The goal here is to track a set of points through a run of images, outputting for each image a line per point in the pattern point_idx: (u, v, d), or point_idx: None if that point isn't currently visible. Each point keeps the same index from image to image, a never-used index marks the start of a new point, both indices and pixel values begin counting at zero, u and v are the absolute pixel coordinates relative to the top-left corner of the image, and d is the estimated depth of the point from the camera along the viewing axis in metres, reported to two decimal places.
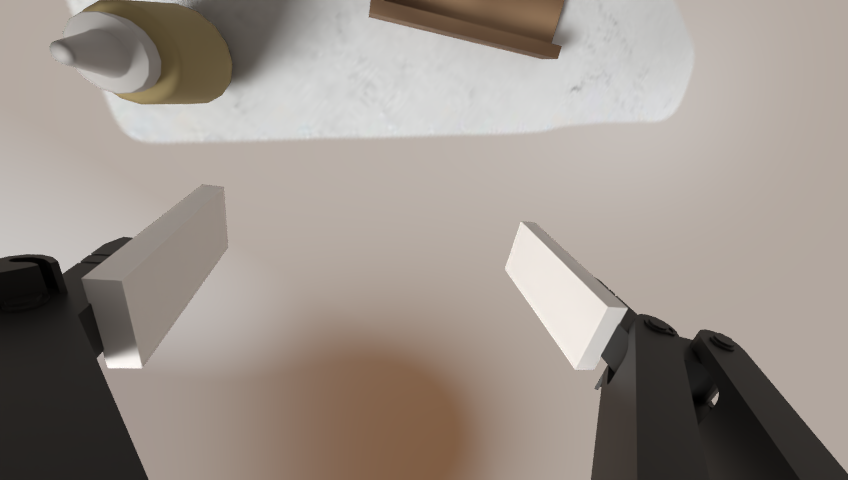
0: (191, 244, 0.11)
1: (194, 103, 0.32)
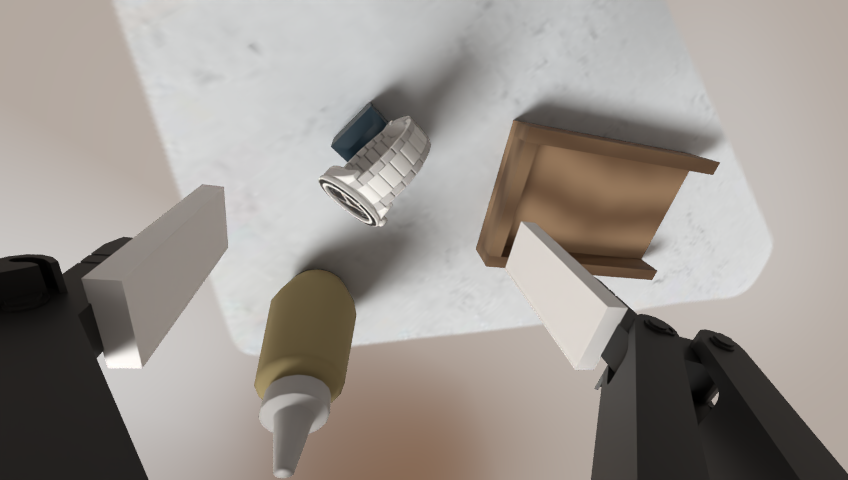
0: (191, 244, 0.11)
1: None
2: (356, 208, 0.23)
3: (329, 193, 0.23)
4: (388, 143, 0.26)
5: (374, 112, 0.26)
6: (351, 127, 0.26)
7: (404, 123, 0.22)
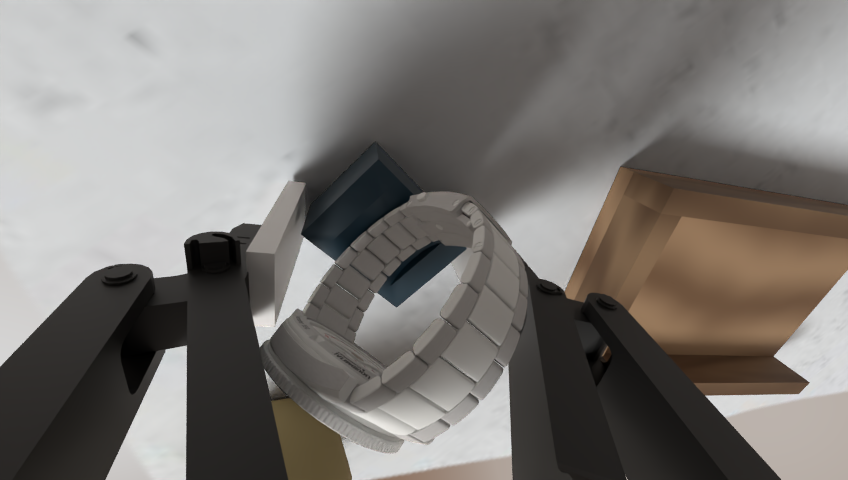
0: (293, 230, 0.13)
1: None
2: None
3: None
4: (413, 227, 0.13)
5: (385, 170, 0.13)
6: (340, 199, 0.13)
7: (459, 213, 0.10)
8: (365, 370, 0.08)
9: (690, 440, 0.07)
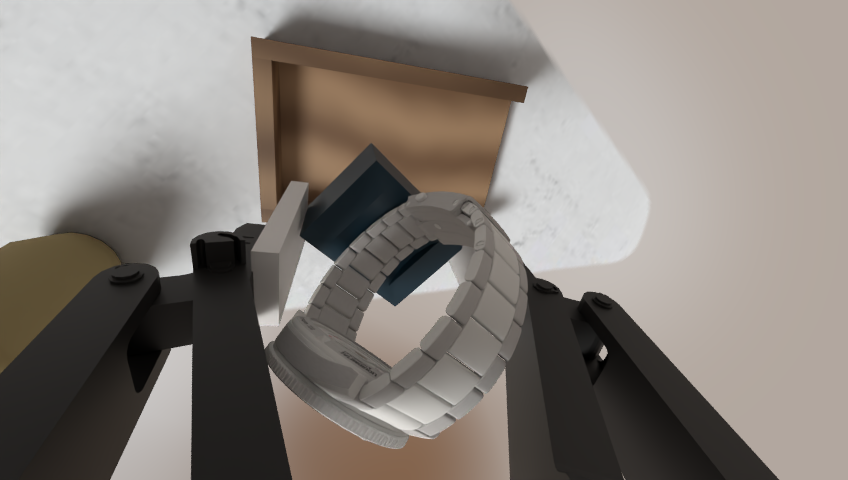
0: (297, 230, 0.13)
1: None
2: None
3: None
4: (412, 227, 0.14)
5: (383, 171, 0.13)
6: (338, 200, 0.13)
7: (459, 212, 0.10)
8: (371, 368, 0.09)
9: (686, 439, 0.07)
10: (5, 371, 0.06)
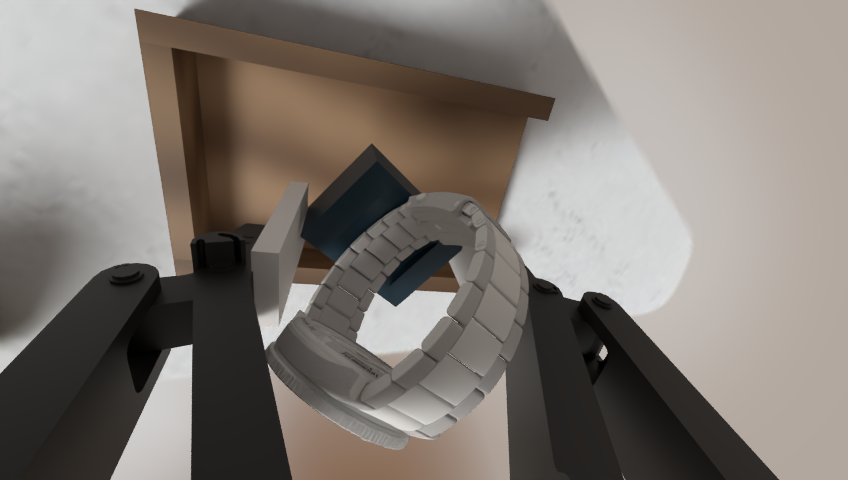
0: (297, 230, 0.13)
1: None
2: None
3: None
4: (412, 227, 0.14)
5: (384, 171, 0.13)
6: (339, 200, 0.13)
7: (460, 213, 0.10)
8: (372, 369, 0.09)
9: (687, 439, 0.07)
10: (5, 371, 0.06)
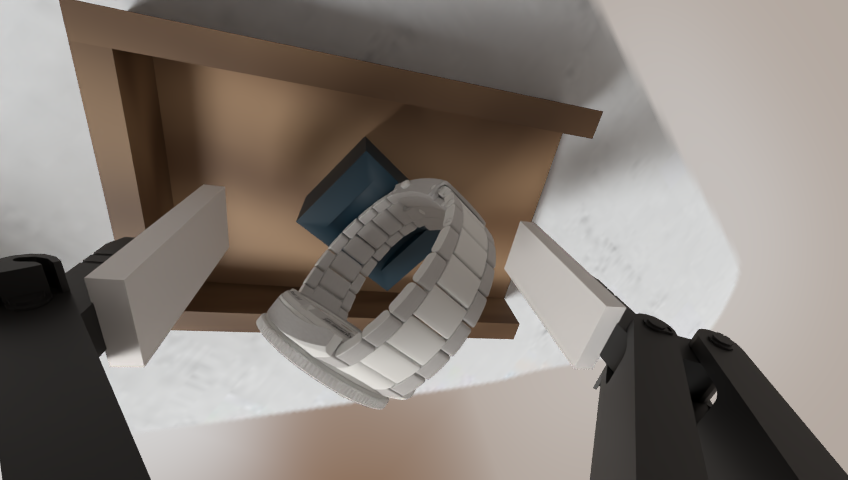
0: (193, 244, 0.11)
1: None
2: None
3: None
4: (400, 214, 0.14)
5: (373, 161, 0.14)
6: (331, 188, 0.14)
7: (436, 196, 0.11)
8: (351, 334, 0.09)
9: None
10: None
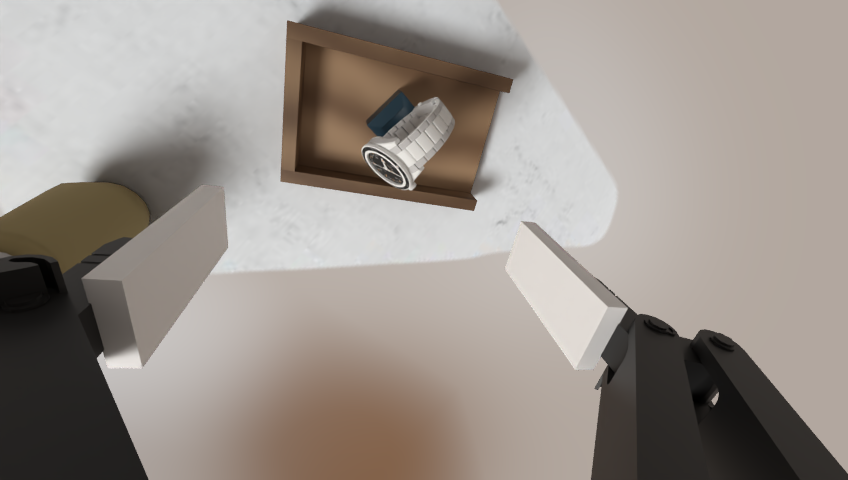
0: (191, 244, 0.11)
1: None
2: (392, 172, 0.27)
3: (369, 161, 0.28)
4: (415, 122, 0.31)
5: (404, 96, 0.30)
6: (384, 109, 0.31)
7: (433, 103, 0.27)
8: None
9: None
10: None
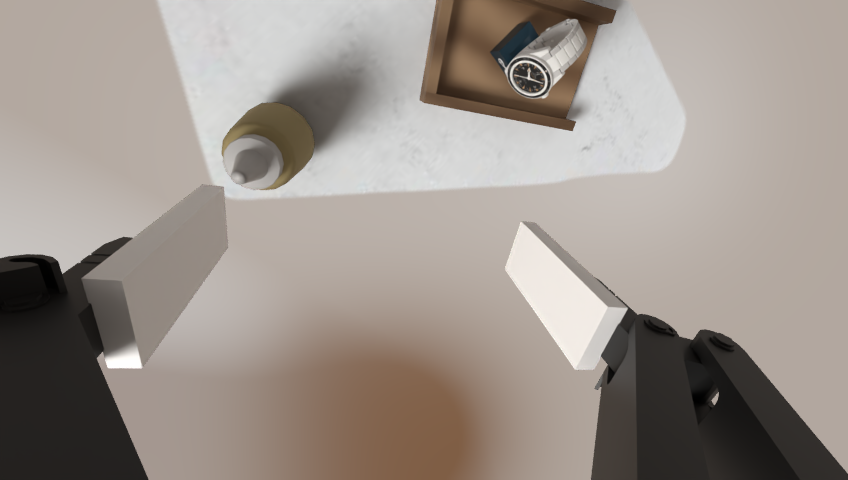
0: (191, 244, 0.11)
1: None
2: (534, 81, 0.34)
3: (512, 74, 0.35)
4: (539, 47, 0.38)
5: (531, 25, 0.37)
6: (514, 36, 0.38)
7: (565, 24, 0.34)
8: None
9: None
10: None
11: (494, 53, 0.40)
